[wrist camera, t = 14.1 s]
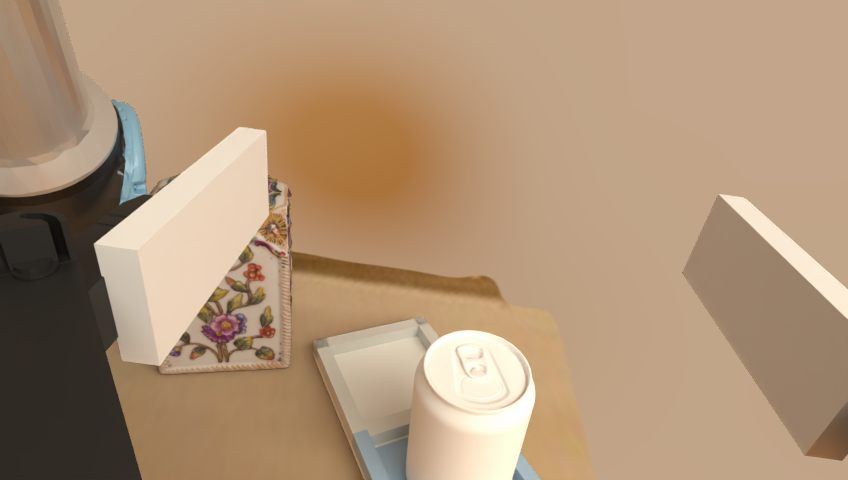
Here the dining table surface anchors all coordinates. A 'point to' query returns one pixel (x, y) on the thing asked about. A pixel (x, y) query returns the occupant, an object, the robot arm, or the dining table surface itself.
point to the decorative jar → (245, 303)
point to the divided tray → (380, 393)
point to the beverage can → (469, 409)
